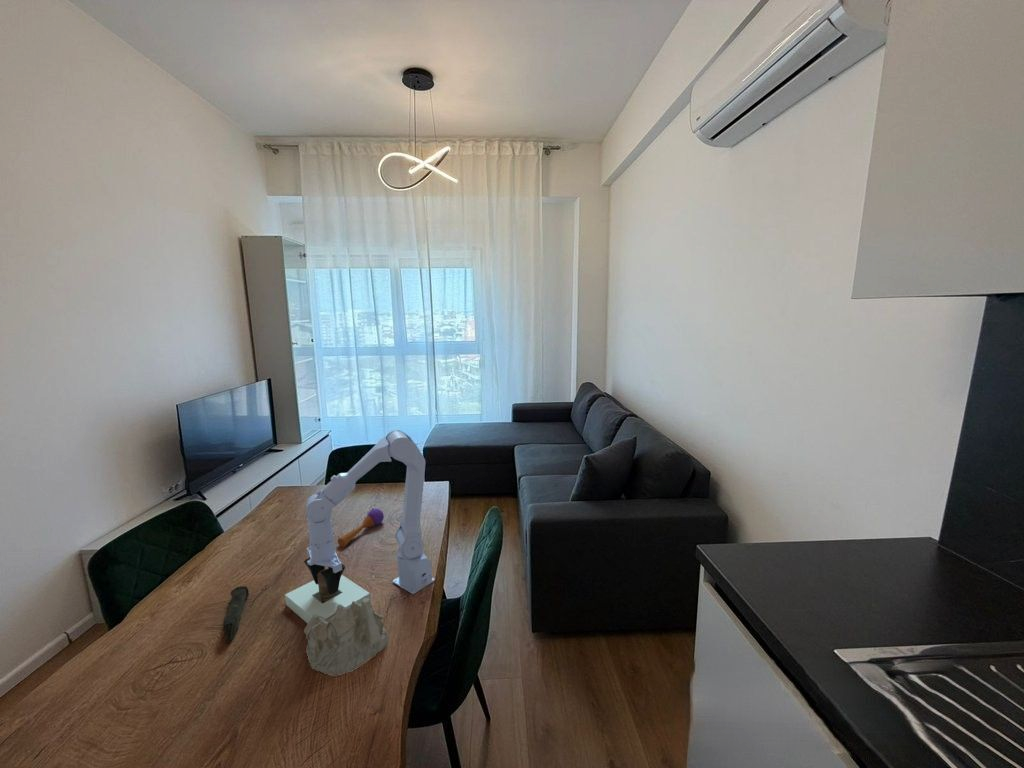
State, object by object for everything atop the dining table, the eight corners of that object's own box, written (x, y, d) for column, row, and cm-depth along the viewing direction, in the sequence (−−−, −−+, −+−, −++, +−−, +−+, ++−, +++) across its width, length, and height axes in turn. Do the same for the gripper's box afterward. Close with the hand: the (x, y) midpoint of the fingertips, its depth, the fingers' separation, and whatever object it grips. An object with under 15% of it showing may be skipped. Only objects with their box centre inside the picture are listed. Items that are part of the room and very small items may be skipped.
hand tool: (232, 600, 117) (230, 585, 116) (249, 596, 118) (247, 581, 117) (215, 649, 99) (212, 631, 98) (235, 644, 101) (232, 626, 100)
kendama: (332, 534, 144) (372, 506, 162) (337, 550, 144) (376, 520, 162) (345, 534, 141) (384, 505, 159) (350, 550, 142) (388, 520, 160)
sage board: (370, 603, 114) (369, 593, 113) (319, 634, 103) (318, 623, 102) (335, 579, 125) (334, 569, 124) (286, 604, 114) (284, 594, 113)
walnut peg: (340, 602, 114) (337, 571, 113) (326, 611, 111) (323, 579, 110) (331, 596, 117) (328, 566, 115) (317, 605, 113) (314, 574, 112)
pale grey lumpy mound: (397, 643, 99) (388, 584, 97) (326, 691, 87) (314, 625, 85) (365, 616, 110) (356, 562, 108) (299, 655, 98) (288, 596, 96)
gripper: (293, 537, 112) (298, 584, 114) (320, 555, 103) (326, 606, 105) (319, 527, 118) (323, 572, 120) (347, 543, 109) (352, 591, 111)
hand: (326, 587), depth 113 cm, fingers open, 7 cm apart
